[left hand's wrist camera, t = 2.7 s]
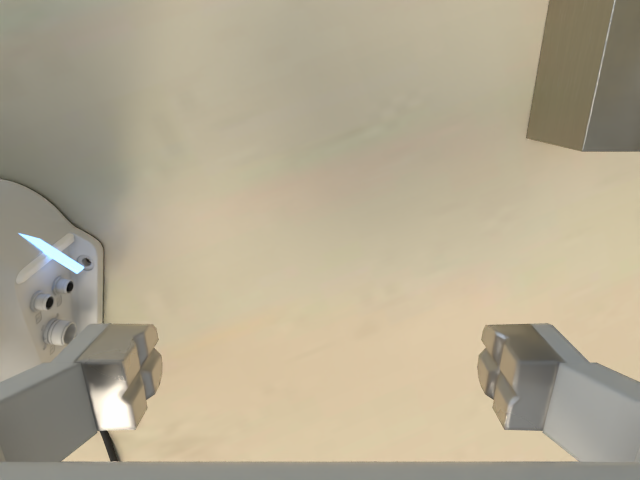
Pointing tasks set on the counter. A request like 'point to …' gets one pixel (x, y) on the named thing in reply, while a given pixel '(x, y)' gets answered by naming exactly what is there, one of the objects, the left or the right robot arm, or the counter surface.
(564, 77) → the bar
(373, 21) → the counter surface
